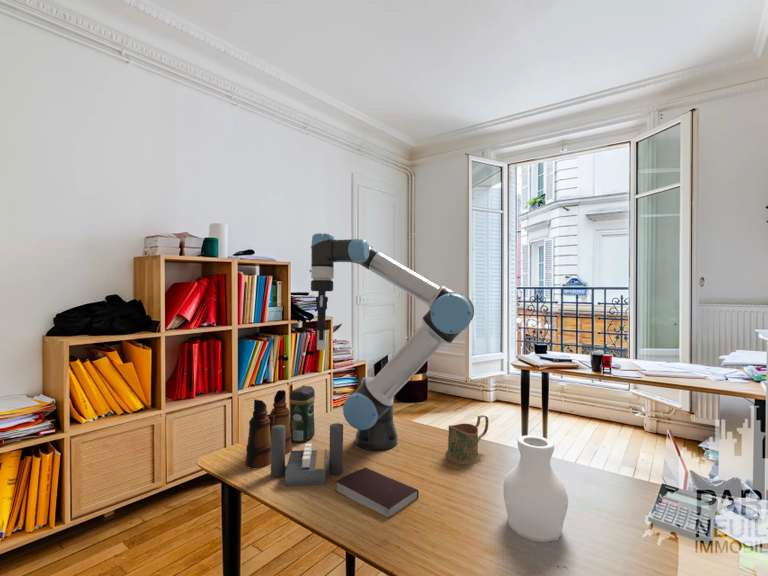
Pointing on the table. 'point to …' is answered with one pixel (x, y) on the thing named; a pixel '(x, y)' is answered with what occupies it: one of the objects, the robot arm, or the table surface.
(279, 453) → the post
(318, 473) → the breaker box
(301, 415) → the coffee jar
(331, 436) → the post
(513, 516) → the vase
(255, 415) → the binoculars
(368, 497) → the book
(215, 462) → the table surface
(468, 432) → the weathered metal jug
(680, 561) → the table surface
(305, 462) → the row of white cubes
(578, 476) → the table surface
